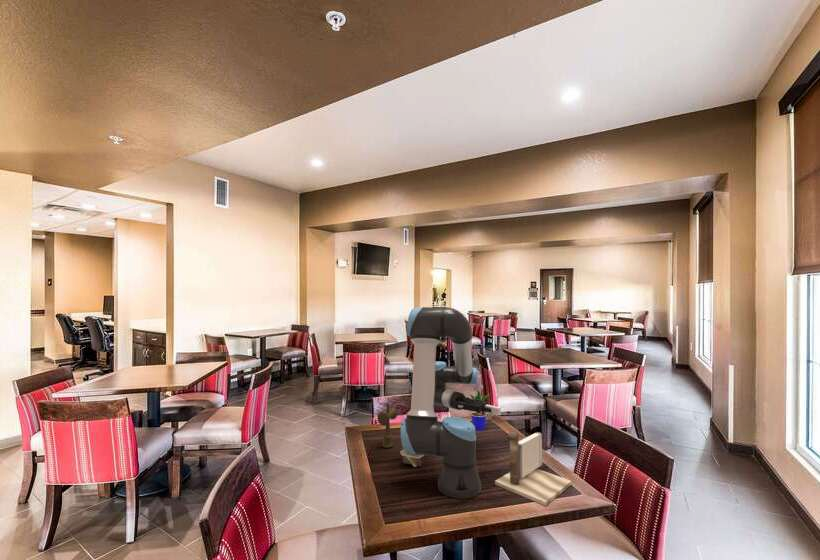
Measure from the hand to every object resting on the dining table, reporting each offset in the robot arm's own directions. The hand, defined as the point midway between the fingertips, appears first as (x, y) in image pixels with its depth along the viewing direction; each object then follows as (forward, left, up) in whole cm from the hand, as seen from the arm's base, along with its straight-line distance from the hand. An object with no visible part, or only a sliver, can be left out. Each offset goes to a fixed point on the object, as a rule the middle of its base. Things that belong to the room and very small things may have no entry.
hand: (499, 411), depth 149 cm
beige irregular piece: (-27, +24, -22) cm, 42 cm away
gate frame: (-5, -17, -21) cm, 28 cm away
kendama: (-21, +45, -21) cm, 54 cm away
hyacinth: (+29, +30, -21) cm, 47 cm away
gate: (-1, -13, -19) cm, 23 cm away
